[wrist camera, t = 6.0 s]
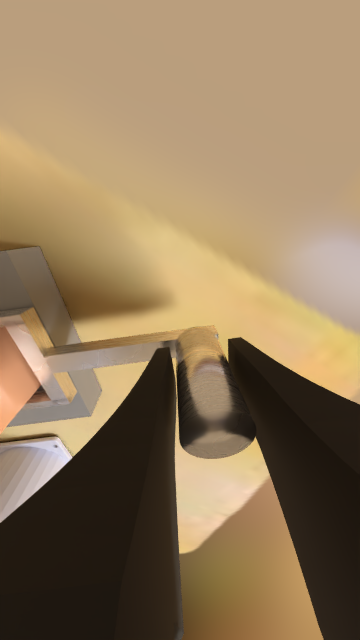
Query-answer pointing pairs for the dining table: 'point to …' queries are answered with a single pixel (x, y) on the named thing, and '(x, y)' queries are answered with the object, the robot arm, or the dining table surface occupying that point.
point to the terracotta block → (13, 379)
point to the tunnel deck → (42, 293)
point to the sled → (186, 345)
